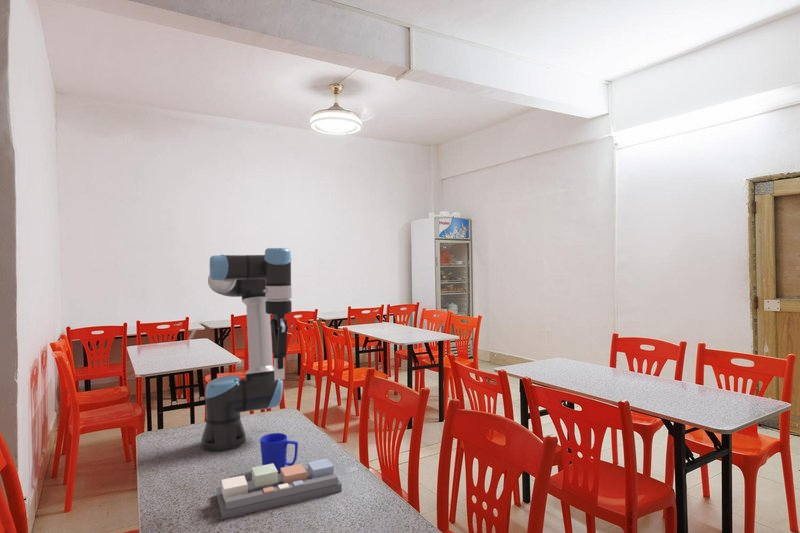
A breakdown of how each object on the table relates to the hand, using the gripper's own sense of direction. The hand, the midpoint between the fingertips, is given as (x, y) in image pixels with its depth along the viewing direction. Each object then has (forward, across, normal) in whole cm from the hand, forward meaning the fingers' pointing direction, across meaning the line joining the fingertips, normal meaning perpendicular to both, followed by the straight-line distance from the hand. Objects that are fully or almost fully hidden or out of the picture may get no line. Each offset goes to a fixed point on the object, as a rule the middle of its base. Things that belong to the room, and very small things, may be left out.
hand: (279, 378), depth 142 cm
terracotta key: (+28, +8, +2) cm, 29 cm away
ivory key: (+28, +8, -14) cm, 32 cm away
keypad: (+30, +8, -2) cm, 31 cm away
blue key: (+28, +8, +10) cm, 30 cm away
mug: (+31, -7, +1) cm, 31 cm away
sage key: (+26, +8, -6) cm, 28 cm away
